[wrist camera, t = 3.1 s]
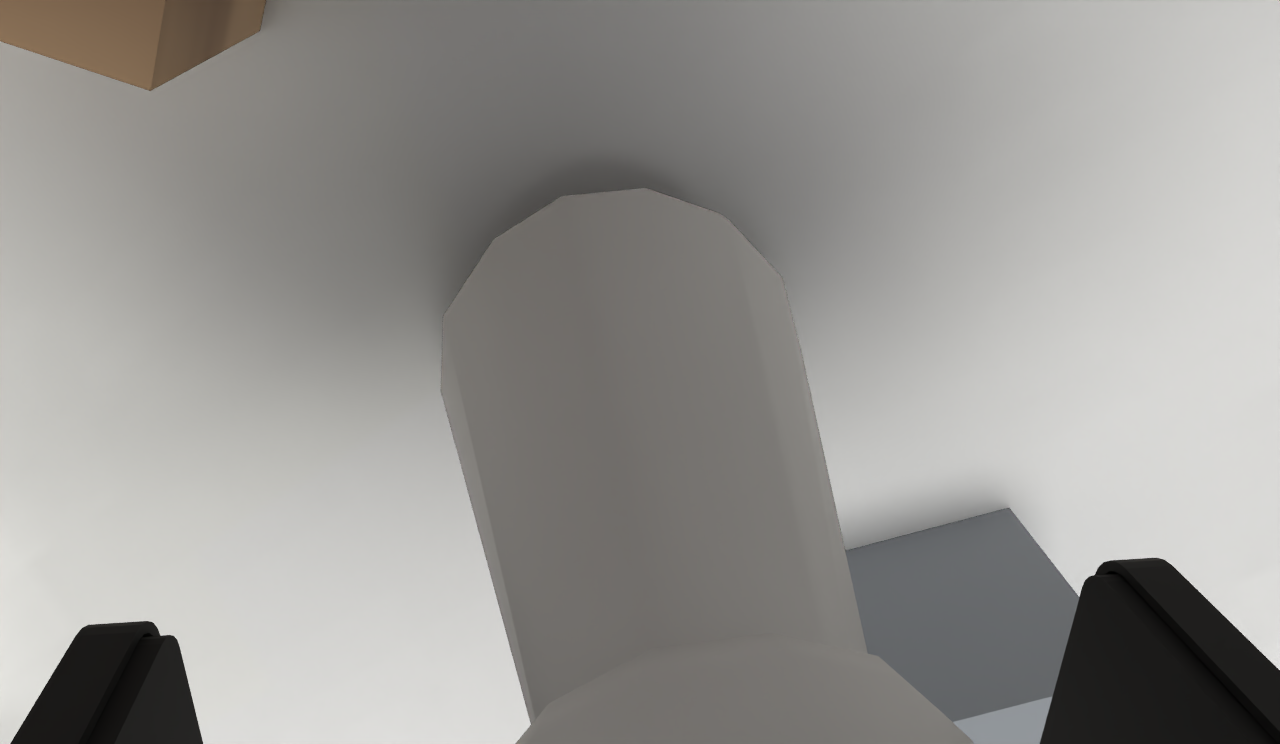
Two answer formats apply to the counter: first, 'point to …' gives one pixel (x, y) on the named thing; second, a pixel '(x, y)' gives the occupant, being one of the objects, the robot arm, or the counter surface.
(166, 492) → the counter surface
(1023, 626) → the slate-grey block
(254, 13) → the walnut block
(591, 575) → the salt shaker
